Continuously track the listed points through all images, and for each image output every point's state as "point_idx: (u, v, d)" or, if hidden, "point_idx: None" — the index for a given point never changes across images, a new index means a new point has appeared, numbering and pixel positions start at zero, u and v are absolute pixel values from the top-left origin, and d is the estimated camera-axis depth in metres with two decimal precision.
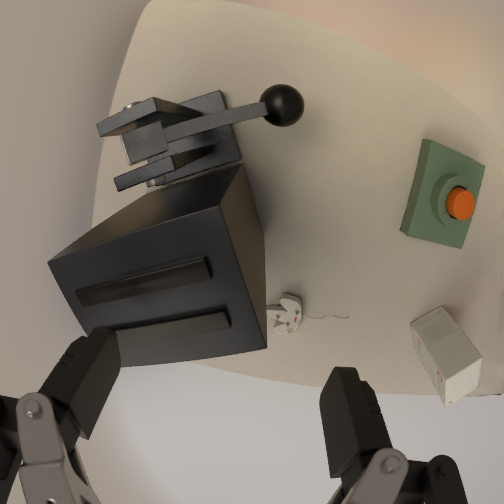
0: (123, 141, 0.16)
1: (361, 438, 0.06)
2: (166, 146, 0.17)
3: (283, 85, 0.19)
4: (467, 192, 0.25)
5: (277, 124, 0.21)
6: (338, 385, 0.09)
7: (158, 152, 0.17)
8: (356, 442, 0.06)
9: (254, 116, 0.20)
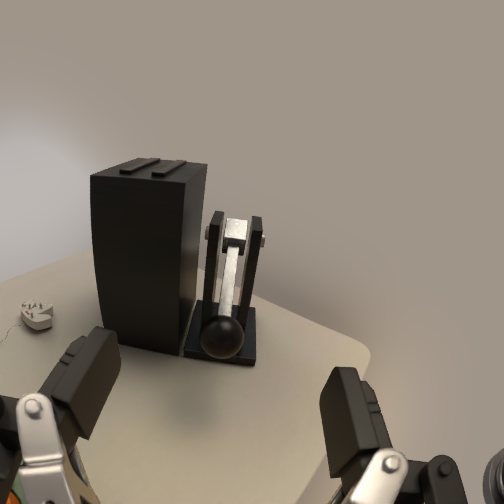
0: (242, 220, 0.30)
1: (361, 438, 0.06)
2: (226, 236, 0.28)
3: (241, 335, 0.22)
4: None
5: None
6: (338, 385, 0.09)
7: (225, 232, 0.28)
8: (356, 442, 0.06)
9: (220, 303, 0.24)
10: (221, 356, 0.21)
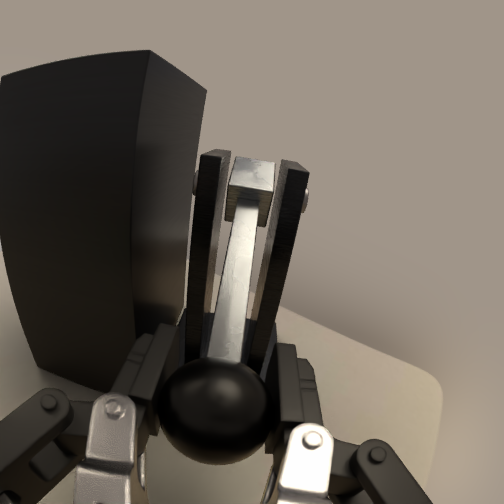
0: (265, 161, 0.15)
1: (285, 410, 0.07)
2: (234, 184, 0.13)
3: (269, 416, 0.07)
4: None
5: None
6: (275, 360, 0.10)
7: (231, 176, 0.14)
8: (280, 414, 0.07)
9: (214, 325, 0.09)
10: (214, 464, 0.07)
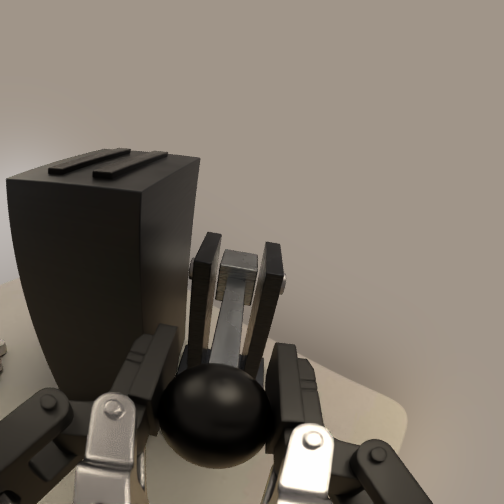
0: (249, 253, 0.19)
1: (286, 410, 0.07)
2: (225, 264, 0.17)
3: (268, 407, 0.08)
4: None
5: None
6: (275, 360, 0.10)
7: (222, 260, 0.17)
8: (280, 414, 0.07)
9: (213, 350, 0.10)
10: (215, 459, 0.06)
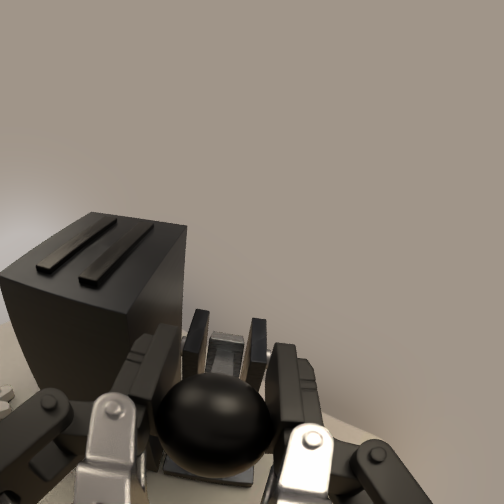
0: (235, 335, 0.20)
1: (285, 410, 0.07)
2: (214, 337, 0.17)
3: (266, 407, 0.08)
4: None
5: None
6: (275, 360, 0.10)
7: (211, 336, 0.18)
8: (280, 414, 0.07)
9: None
10: (217, 449, 0.06)
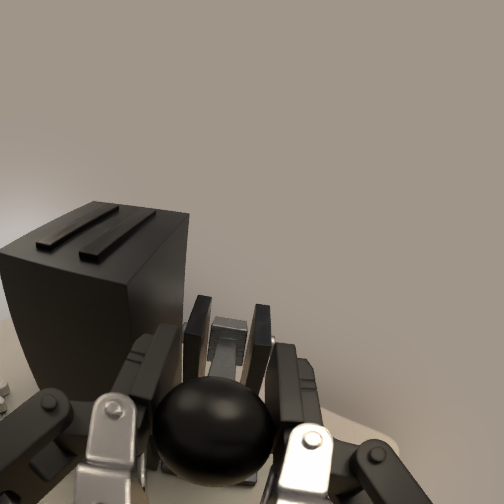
0: (238, 320, 0.20)
1: (285, 410, 0.07)
2: (216, 324, 0.17)
3: (268, 414, 0.07)
4: None
5: None
6: (275, 360, 0.10)
7: (213, 322, 0.18)
8: (279, 414, 0.07)
9: None
10: (215, 464, 0.06)
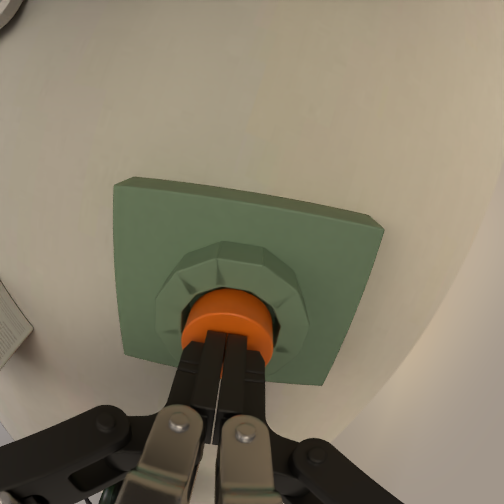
0: None
1: (224, 400, 0.07)
2: None
3: None
4: (267, 353, 0.11)
5: None
6: (226, 351, 0.10)
7: None
8: (218, 403, 0.07)
9: None
10: None
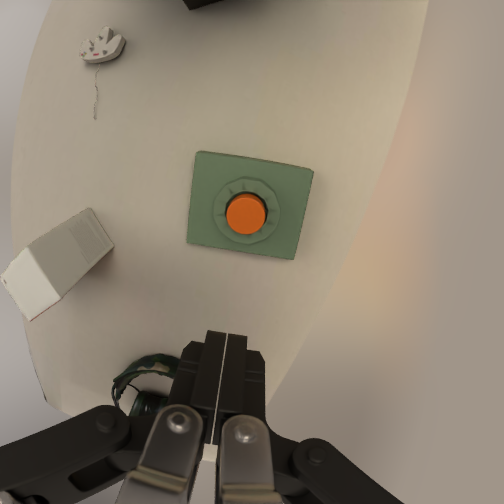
0: None
1: (224, 400, 0.07)
2: None
3: None
4: (262, 218, 0.27)
5: None
6: (226, 351, 0.10)
7: None
8: (218, 403, 0.07)
9: None
10: None
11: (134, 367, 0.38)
